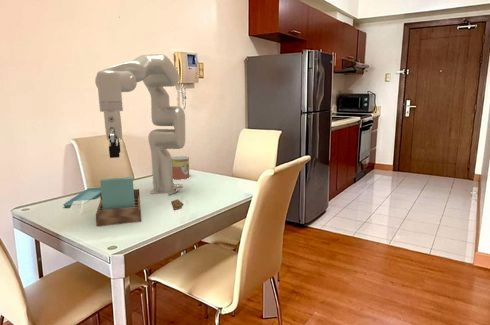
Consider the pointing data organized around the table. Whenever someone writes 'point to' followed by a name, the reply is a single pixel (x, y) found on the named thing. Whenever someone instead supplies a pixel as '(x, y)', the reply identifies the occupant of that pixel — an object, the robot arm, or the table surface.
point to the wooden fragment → (176, 204)
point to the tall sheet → (117, 193)
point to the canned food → (180, 167)
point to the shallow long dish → (84, 196)
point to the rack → (119, 213)
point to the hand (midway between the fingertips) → (115, 155)
